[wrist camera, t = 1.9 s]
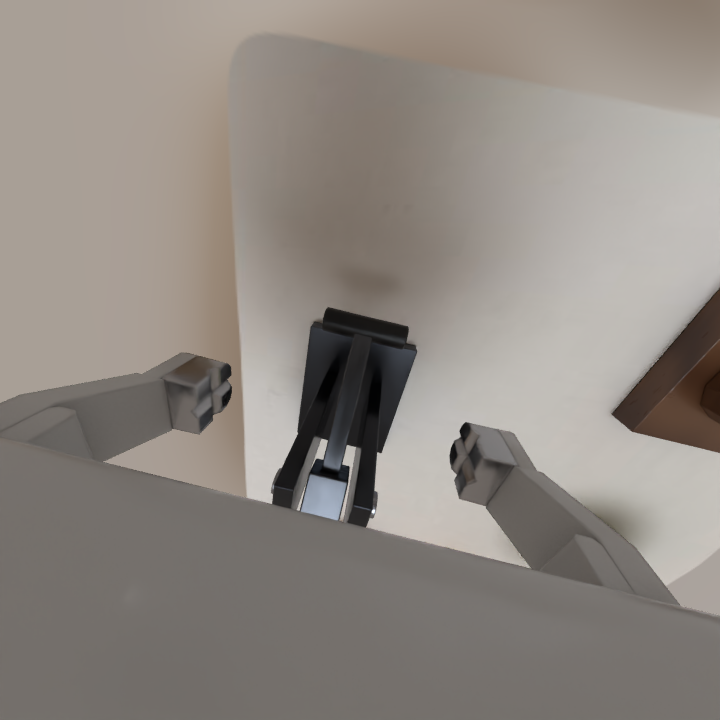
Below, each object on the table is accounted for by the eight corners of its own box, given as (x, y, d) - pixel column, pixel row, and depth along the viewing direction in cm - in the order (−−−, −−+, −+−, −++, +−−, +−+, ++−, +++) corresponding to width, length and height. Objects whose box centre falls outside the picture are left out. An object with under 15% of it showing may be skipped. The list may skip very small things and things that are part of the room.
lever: (330, 312, 17) (325, 302, 14) (404, 330, 17) (412, 322, 14) (284, 496, 16) (271, 517, 14) (360, 515, 16) (361, 540, 14)
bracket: (314, 321, 22) (231, 416, 11) (416, 345, 22) (440, 467, 11) (300, 425, 28) (236, 560, 16) (381, 445, 28) (374, 594, 16)
